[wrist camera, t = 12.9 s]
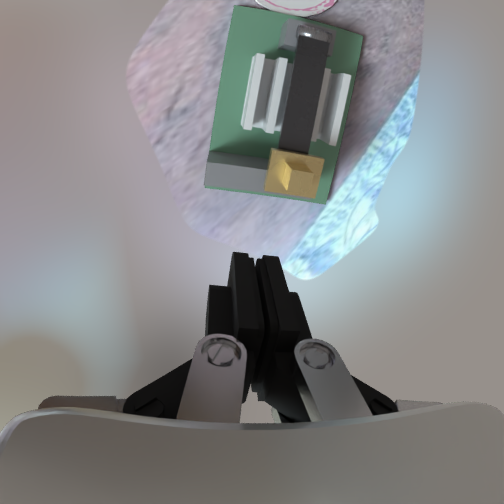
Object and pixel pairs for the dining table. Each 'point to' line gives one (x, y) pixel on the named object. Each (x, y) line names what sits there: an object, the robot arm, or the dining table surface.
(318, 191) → the board
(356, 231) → the dining table surface
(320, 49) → the strap
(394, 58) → the dining table surface
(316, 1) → the teacup
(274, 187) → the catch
